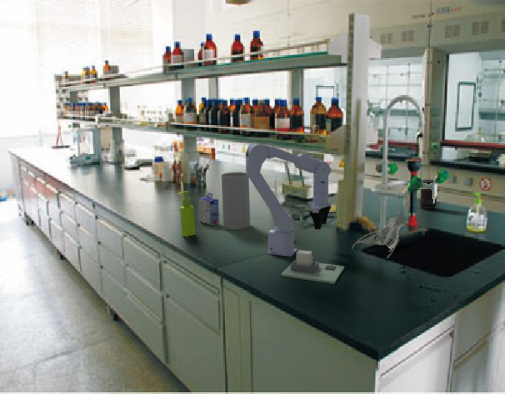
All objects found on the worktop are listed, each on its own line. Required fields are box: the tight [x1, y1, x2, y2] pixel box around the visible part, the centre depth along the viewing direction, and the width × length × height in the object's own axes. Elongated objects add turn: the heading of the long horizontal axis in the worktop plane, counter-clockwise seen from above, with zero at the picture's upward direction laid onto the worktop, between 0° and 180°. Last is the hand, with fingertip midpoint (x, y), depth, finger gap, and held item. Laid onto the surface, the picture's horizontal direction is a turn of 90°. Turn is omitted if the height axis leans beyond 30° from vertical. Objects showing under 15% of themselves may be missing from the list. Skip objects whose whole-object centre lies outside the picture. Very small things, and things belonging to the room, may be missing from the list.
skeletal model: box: [351, 211, 406, 259], centre depth 170 cm, size 16×9×25 cm
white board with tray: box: [280, 259, 345, 285], centre depth 147 cm, size 18×14×3 cm
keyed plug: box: [295, 249, 314, 267], centre depth 148 cm, size 5×3×6 cm, turn 65°
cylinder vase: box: [220, 171, 251, 231], centre depth 200 cm, size 12×12×25 cm
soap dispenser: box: [177, 190, 196, 237], centre depth 190 cm, size 6×7×20 cm
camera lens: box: [419, 179, 438, 211], centre depth 224 cm, size 8×8×15 cm
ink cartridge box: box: [198, 192, 220, 226], centre depth 210 cm, size 10×6×14 cm, turn 41°
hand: (320, 226), depth 167 cm, fingers open, 7 cm apart
